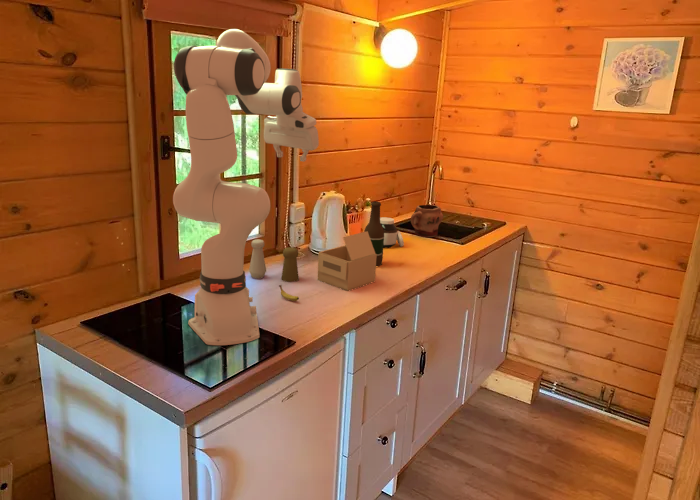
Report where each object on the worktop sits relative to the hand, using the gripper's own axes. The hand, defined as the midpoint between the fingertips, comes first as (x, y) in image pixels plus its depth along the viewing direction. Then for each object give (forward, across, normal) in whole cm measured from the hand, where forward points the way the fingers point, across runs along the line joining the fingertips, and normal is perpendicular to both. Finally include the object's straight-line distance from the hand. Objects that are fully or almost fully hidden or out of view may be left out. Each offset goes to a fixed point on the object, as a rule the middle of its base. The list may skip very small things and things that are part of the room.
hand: (291, 158), depth 189 cm
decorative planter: (+52, +26, +66) cm, 88 cm away
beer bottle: (+42, +25, +15) cm, 51 cm away
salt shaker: (+36, -2, -22) cm, 42 cm away
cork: (+37, +9, -17) cm, 41 cm away
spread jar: (+47, +20, +41) cm, 66 cm away
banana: (+33, +19, -33) cm, 50 cm away
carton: (+38, +26, -8) cm, 46 cm away
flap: (+24, +29, -6) cm, 38 cm away
